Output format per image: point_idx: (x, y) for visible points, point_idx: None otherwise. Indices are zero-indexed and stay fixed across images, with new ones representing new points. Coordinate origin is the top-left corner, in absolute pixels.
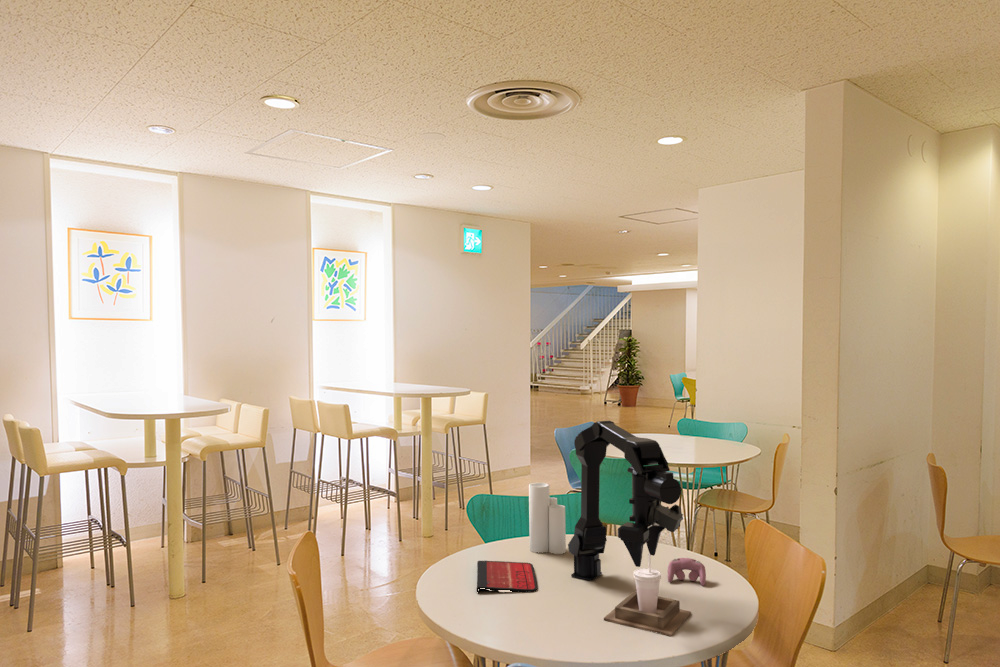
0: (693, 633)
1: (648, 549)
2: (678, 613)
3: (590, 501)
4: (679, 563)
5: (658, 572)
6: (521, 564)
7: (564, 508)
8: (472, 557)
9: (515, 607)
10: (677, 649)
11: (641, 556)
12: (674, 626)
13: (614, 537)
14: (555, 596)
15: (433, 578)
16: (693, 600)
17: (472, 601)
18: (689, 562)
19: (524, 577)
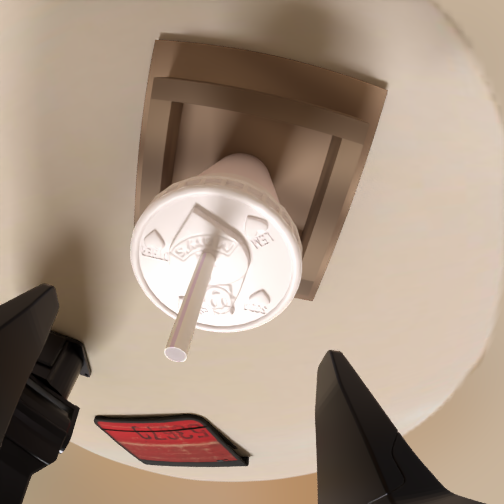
0: (335, 16)
1: (45, 340)
2: (190, 76)
3: None
4: None
5: (169, 205)
6: (109, 430)
7: None
8: (124, 458)
9: (287, 426)
10: (461, 79)
11: (364, 410)
12: (321, 78)
13: None
14: (204, 392)
15: (219, 479)
16: (51, 68)
17: (281, 456)
18: None
19: (160, 432)
